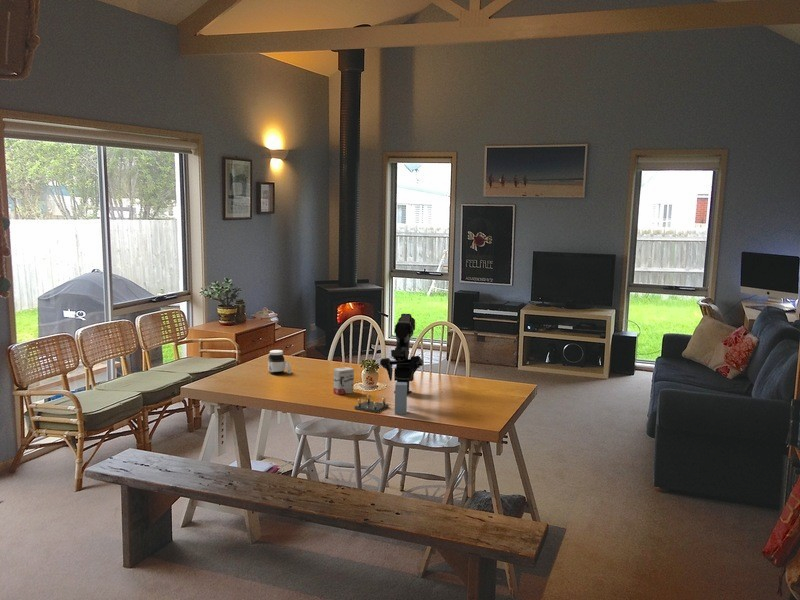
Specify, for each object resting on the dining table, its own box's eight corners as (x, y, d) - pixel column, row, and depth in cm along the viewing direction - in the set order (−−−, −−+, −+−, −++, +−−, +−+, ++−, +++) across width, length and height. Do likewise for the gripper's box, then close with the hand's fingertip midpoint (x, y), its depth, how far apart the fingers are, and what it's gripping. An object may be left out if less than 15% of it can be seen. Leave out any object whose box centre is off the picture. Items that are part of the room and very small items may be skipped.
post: (395, 410, 304) (395, 381, 303) (406, 411, 304) (407, 382, 302) (394, 414, 299) (395, 384, 298) (406, 414, 299) (406, 385, 297)
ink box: (338, 395, 327) (338, 370, 325) (333, 392, 331) (333, 368, 329) (354, 392, 332) (354, 368, 330) (348, 390, 336) (349, 366, 334)
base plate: (367, 403, 315) (367, 394, 315) (388, 406, 310) (388, 397, 309) (354, 409, 305) (354, 399, 305) (376, 413, 300) (376, 403, 300)
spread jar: (266, 371, 369) (266, 349, 368) (286, 369, 375) (286, 348, 373) (273, 376, 359) (273, 354, 357) (294, 374, 364) (294, 352, 362)
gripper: (376, 342, 313) (374, 375, 306) (416, 339, 307) (414, 372, 300) (385, 351, 322) (383, 383, 315) (423, 348, 316) (422, 381, 309)
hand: (400, 380), depth 310 cm, fingers open, 9 cm apart
